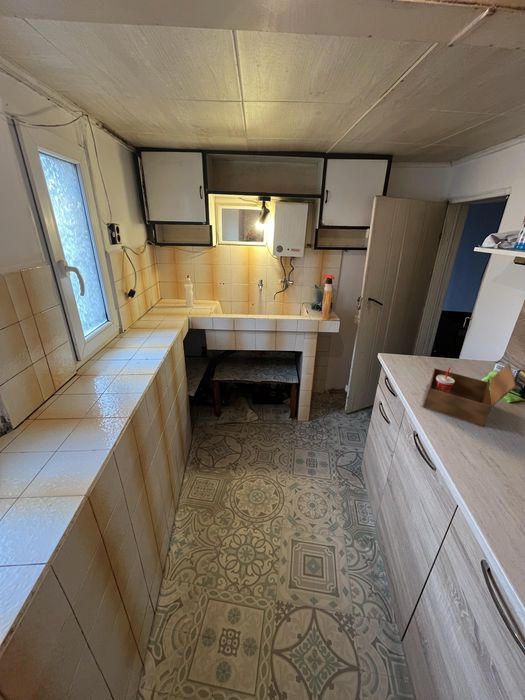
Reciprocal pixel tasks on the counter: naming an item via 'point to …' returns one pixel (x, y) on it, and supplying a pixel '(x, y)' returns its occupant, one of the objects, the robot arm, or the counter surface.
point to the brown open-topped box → (460, 398)
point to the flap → (501, 384)
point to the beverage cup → (444, 383)
